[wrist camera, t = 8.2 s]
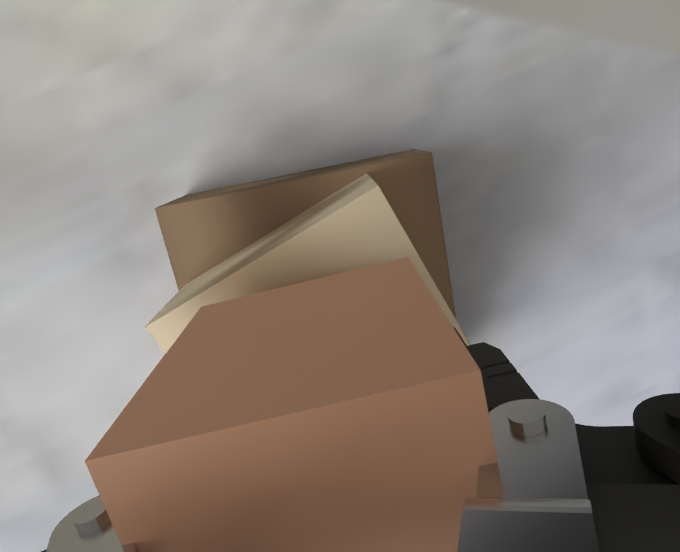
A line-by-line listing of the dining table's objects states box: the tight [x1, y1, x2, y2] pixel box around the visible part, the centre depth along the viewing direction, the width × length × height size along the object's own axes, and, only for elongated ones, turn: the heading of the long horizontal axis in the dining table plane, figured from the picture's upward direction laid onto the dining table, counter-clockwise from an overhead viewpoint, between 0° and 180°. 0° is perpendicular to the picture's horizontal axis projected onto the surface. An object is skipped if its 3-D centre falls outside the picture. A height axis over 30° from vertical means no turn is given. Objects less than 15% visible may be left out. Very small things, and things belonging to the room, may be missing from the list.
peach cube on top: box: [85, 257, 498, 552], centre depth 10 cm, size 5×5×6 cm
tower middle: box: [145, 173, 470, 354], centre depth 16 cm, size 7×7×4 cm
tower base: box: [155, 149, 456, 319], centre depth 20 cm, size 9×9×4 cm
